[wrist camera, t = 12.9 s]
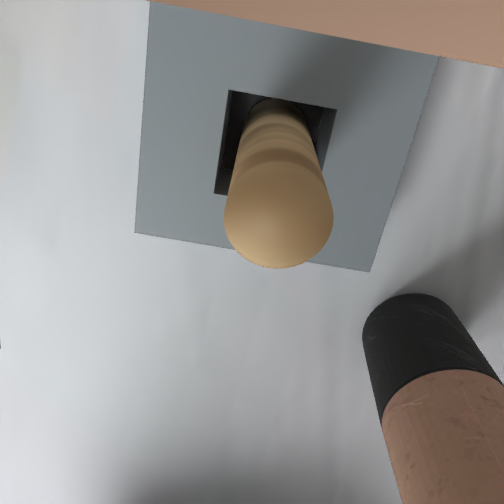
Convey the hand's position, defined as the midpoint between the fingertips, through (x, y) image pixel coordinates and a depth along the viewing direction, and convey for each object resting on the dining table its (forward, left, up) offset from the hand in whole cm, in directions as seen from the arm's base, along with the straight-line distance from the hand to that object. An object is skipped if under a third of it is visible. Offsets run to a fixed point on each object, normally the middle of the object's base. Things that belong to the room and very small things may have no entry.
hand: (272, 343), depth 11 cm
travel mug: (-13, -13, -21) cm, 28 cm away
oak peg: (0, 0, -21) cm, 21 cm away
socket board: (+4, 0, -21) cm, 21 cm away
